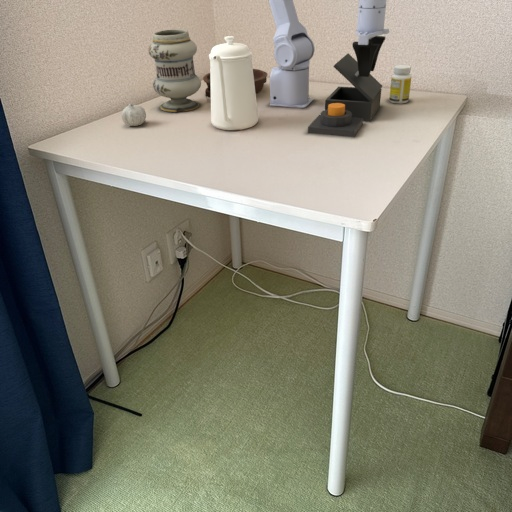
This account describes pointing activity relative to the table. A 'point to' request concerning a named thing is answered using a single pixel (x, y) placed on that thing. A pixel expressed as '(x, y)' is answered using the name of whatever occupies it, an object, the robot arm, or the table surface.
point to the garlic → (133, 115)
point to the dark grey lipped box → (355, 102)
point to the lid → (358, 77)
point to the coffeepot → (232, 86)
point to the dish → (258, 81)
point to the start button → (336, 109)
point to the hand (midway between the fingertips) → (366, 73)
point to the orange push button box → (335, 124)
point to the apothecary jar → (175, 69)
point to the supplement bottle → (400, 84)
